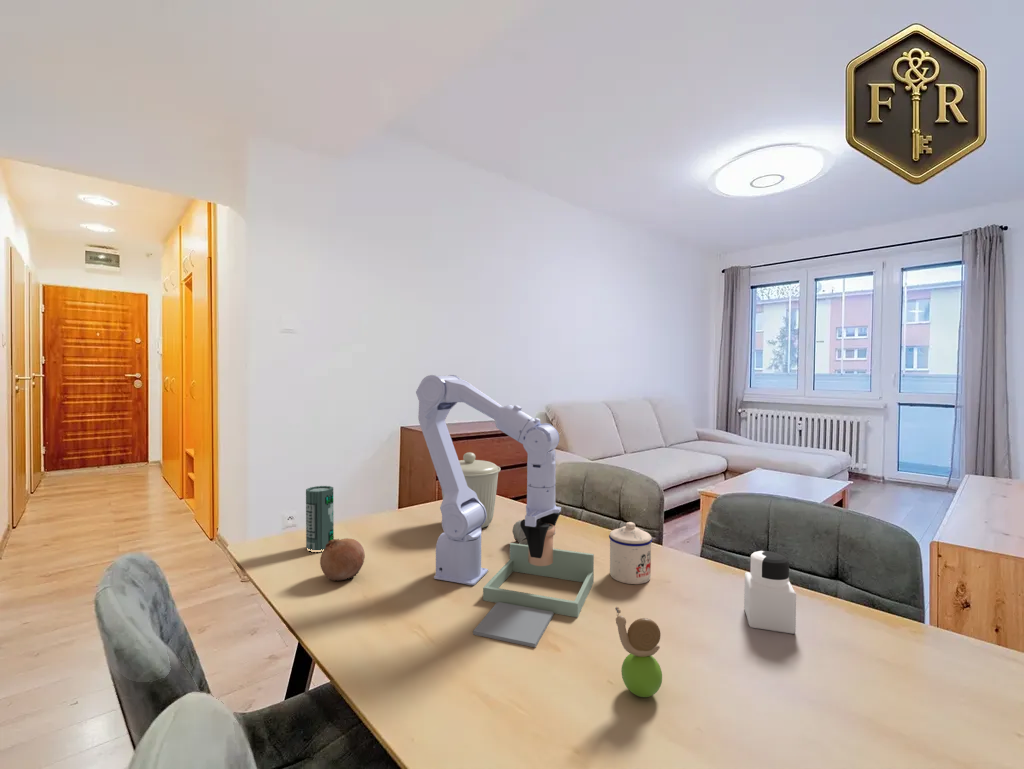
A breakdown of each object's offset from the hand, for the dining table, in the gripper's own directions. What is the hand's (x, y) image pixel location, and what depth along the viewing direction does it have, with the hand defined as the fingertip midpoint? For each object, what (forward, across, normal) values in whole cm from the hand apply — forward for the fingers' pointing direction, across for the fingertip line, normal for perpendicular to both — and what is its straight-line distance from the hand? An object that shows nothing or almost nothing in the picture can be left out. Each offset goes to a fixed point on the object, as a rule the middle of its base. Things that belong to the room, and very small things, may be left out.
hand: (540, 551), depth 97 cm
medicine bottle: (+8, +3, -42) cm, 42 cm away
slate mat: (+8, -14, 0) cm, 16 cm away
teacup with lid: (+8, +15, -17) cm, 24 cm away
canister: (+8, +33, +31) cm, 46 cm away
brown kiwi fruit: (+8, -9, +41) cm, 43 cm away
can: (+8, +3, +58) cm, 59 cm away
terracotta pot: (+2, 0, 0) cm, 2 cm away
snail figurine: (+8, -25, -22) cm, 34 cm away
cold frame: (+8, 0, 0) cm, 8 cm away
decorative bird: (+8, +19, +8) cm, 22 cm away
